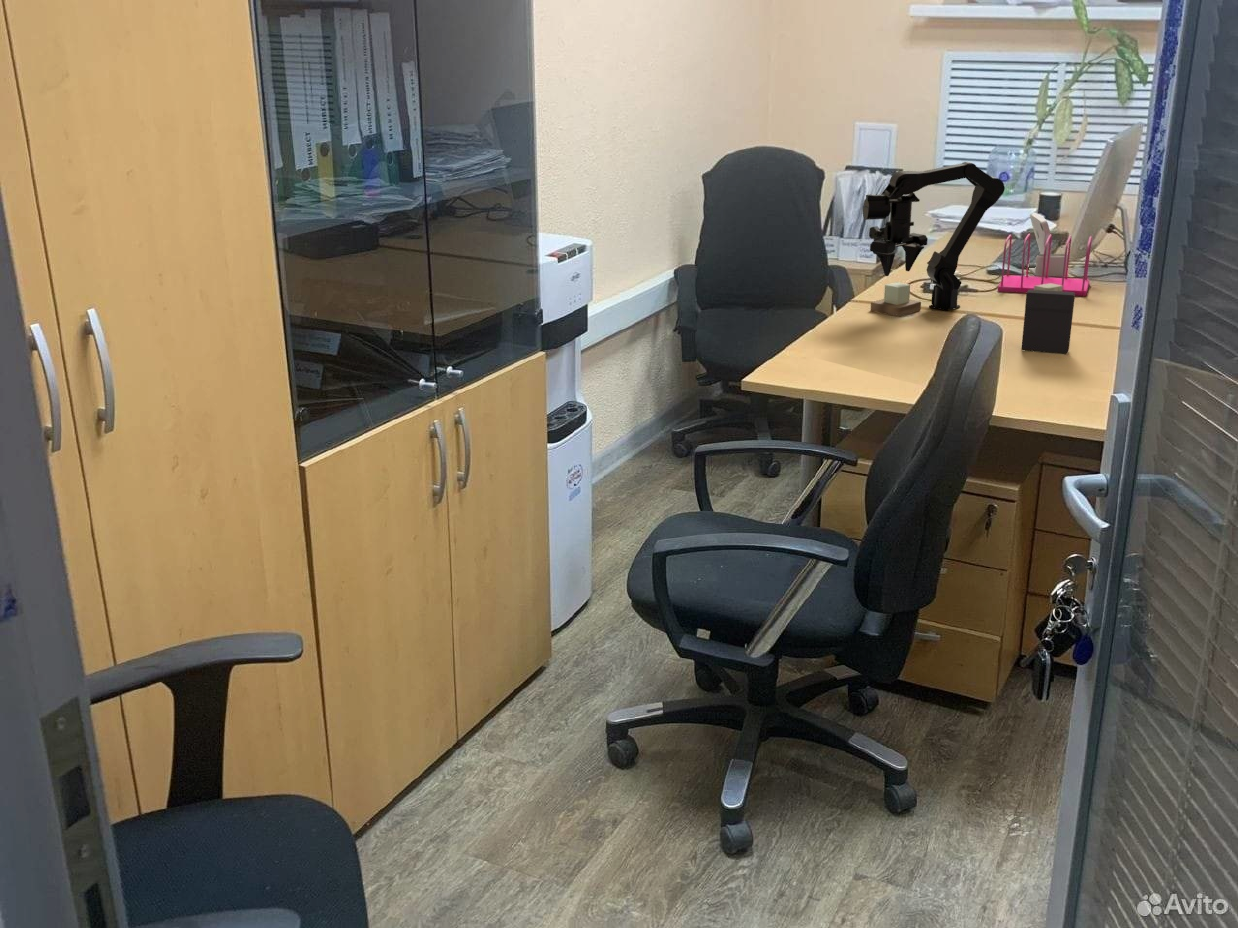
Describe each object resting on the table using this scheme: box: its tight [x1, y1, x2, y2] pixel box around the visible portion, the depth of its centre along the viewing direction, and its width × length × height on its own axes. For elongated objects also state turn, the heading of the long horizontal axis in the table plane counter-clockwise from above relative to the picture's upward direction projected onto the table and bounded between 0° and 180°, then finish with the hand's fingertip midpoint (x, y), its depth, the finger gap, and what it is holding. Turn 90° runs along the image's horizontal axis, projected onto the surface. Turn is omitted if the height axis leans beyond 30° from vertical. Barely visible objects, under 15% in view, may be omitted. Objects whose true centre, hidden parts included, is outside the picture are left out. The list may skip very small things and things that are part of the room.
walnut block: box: [870, 298, 922, 317], centre depth 330 cm, size 10×10×3 cm
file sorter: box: [997, 233, 1093, 297], centre depth 348 cm, size 17×25×16 cm
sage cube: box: [883, 281, 911, 305], centre depth 329 cm, size 5×5×5 cm
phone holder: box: [1028, 212, 1069, 278], centre depth 369 cm, size 17×10×18 cm, turn 175°
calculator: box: [1021, 290, 1076, 355], centre depth 284 cm, size 11×4×15 cm, turn 65°
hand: (897, 273), depth 327 cm, fingers open, 9 cm apart
